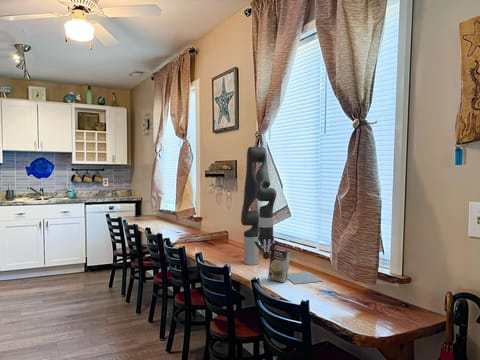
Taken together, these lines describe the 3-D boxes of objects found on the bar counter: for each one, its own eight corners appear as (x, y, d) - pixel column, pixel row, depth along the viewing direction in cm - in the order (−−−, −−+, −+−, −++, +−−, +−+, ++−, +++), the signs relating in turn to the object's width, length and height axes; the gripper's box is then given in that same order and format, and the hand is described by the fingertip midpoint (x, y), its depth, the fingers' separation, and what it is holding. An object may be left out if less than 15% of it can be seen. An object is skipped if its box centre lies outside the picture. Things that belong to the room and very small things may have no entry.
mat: (281, 274, 203) (281, 274, 203) (307, 272, 207) (307, 271, 207) (294, 284, 186) (294, 283, 186) (323, 281, 190) (323, 280, 190)
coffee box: (267, 278, 192) (270, 248, 192) (271, 276, 198) (275, 247, 198) (283, 282, 188) (286, 251, 188) (287, 280, 194) (291, 250, 194)
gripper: (275, 224, 196) (275, 256, 196) (251, 225, 193) (251, 258, 193) (280, 226, 189) (280, 259, 188) (255, 227, 185) (255, 261, 185)
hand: (265, 258), depth 191 cm, fingers closed
